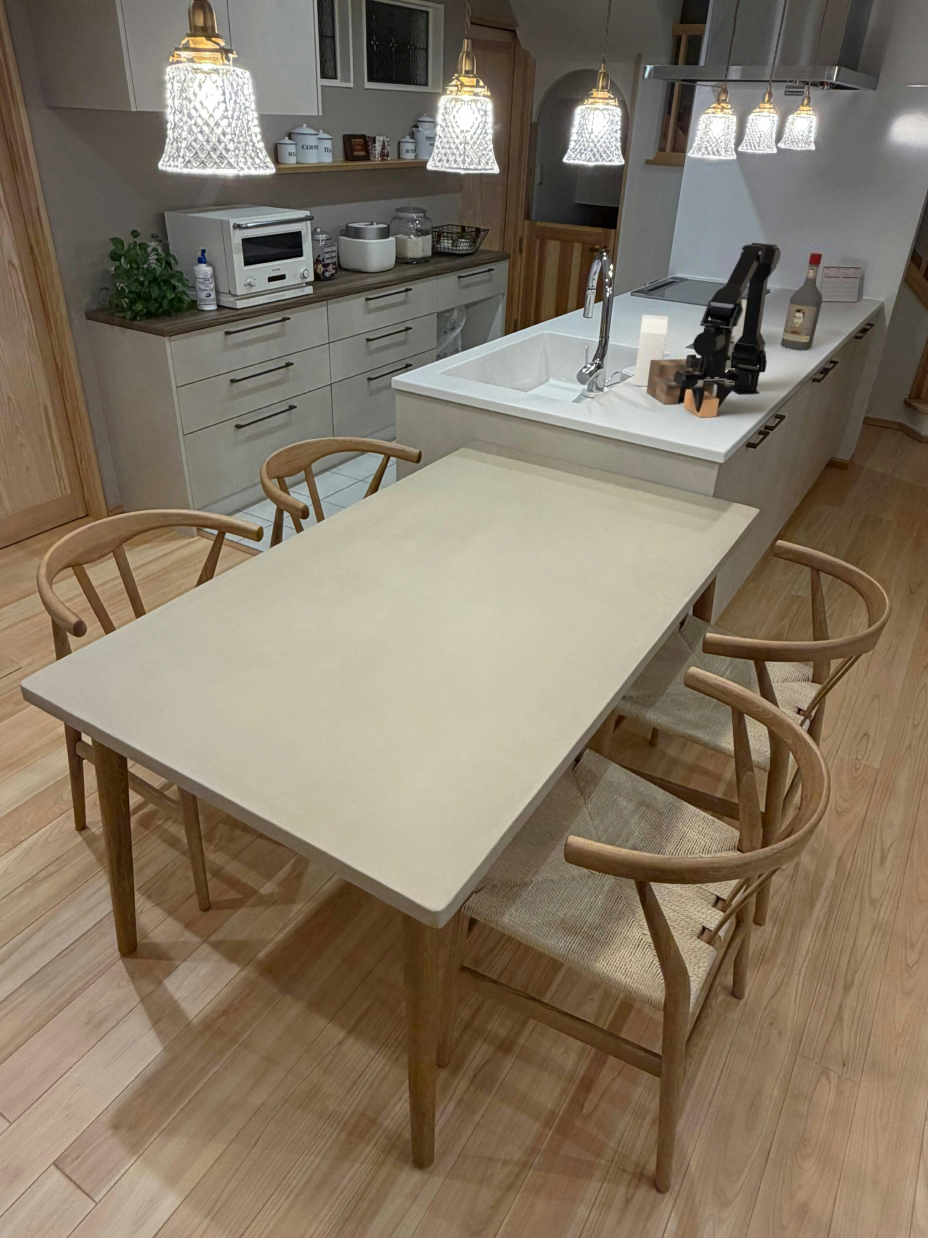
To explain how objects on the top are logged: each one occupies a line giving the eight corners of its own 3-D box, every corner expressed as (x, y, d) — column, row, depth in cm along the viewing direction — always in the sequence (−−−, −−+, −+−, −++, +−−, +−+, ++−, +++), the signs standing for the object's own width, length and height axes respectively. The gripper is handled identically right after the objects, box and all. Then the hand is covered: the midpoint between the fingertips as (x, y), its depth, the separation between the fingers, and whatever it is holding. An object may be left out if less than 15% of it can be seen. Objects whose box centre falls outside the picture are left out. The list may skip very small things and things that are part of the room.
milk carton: (658, 387, 241) (668, 318, 232) (633, 385, 242) (642, 316, 233) (658, 381, 247) (668, 313, 238) (634, 379, 248) (643, 312, 239)
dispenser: (692, 390, 239) (698, 358, 235) (713, 403, 228) (719, 370, 224) (644, 392, 236) (649, 359, 232) (664, 405, 225) (669, 371, 221)
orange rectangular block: (698, 405, 226) (701, 388, 224) (716, 416, 218) (719, 399, 215) (683, 406, 225) (685, 389, 223) (700, 417, 217) (703, 399, 215)
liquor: (786, 342, 298) (806, 251, 283) (812, 346, 294) (834, 253, 279) (778, 347, 292) (798, 253, 277) (805, 351, 288) (826, 256, 272)
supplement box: (755, 350, 286) (764, 304, 279) (728, 348, 288) (736, 302, 280) (752, 345, 294) (761, 299, 286) (726, 343, 295) (734, 298, 288)
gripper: (735, 341, 219) (724, 401, 227) (669, 342, 215) (659, 403, 223) (757, 351, 209) (744, 413, 217) (688, 353, 206) (677, 416, 214)
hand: (706, 411), depth 218 cm, fingers closed on orange rectangular block, 4 cm apart
